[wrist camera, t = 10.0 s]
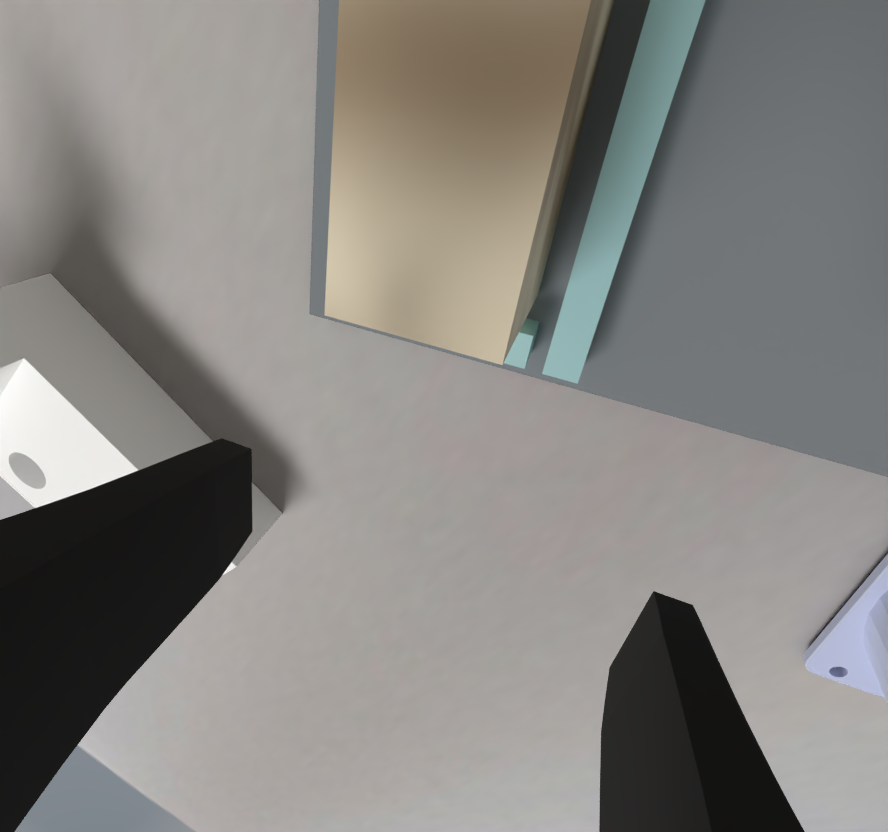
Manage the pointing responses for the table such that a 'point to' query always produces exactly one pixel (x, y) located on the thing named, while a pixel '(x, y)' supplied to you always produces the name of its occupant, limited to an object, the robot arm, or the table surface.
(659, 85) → the teal frame
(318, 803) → the table surface
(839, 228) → the rubber mat
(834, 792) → the table surface
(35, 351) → the bracket
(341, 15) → the birch block
